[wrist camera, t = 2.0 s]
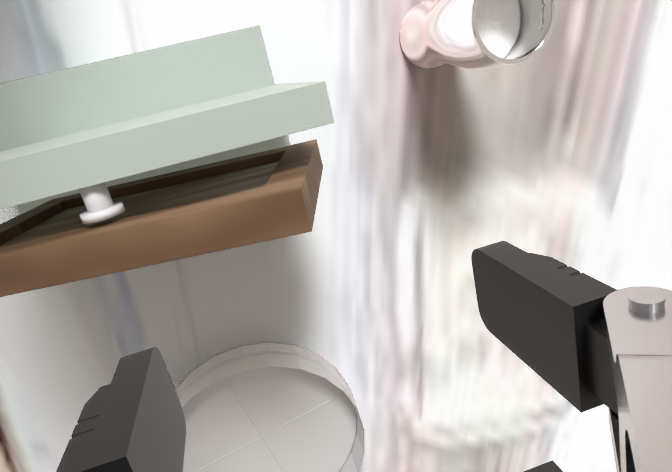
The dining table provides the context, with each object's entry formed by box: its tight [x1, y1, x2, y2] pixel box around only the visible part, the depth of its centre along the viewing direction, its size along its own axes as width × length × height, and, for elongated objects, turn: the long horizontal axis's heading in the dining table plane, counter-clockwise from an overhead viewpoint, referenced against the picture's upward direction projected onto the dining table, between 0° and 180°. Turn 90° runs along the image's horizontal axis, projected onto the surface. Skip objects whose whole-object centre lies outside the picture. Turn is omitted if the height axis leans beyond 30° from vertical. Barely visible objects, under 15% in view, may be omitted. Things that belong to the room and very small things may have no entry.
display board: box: [0, 26, 334, 224], centre depth 34 cm, size 12×24×24 cm, turn 103°
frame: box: [0, 140, 323, 297], centre depth 29 cm, size 2×20×14 cm, turn 104°
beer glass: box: [400, 0, 557, 69], centre depth 41 cm, size 7×7×15 cm
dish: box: [175, 342, 364, 472], centre depth 54 cm, size 22×22×5 cm
